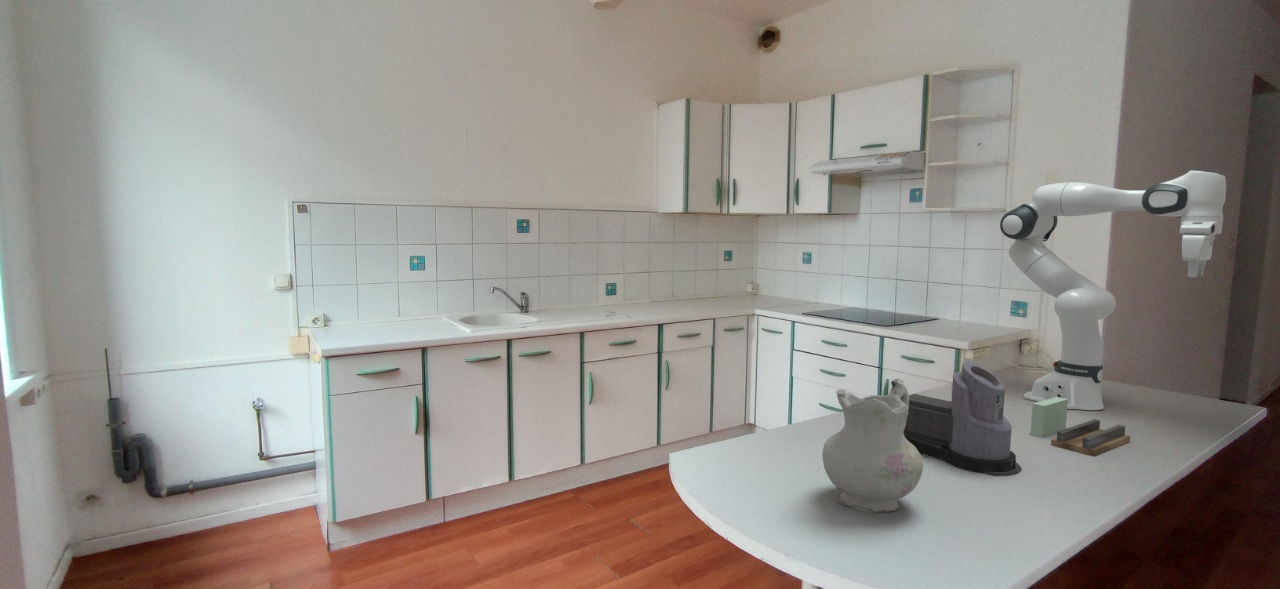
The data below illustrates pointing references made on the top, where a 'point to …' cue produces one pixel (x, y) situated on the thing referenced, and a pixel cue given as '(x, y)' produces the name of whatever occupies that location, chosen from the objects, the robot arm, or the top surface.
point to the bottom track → (1090, 438)
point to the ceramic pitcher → (873, 451)
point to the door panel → (1049, 416)
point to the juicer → (965, 424)
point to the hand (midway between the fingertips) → (1195, 276)
